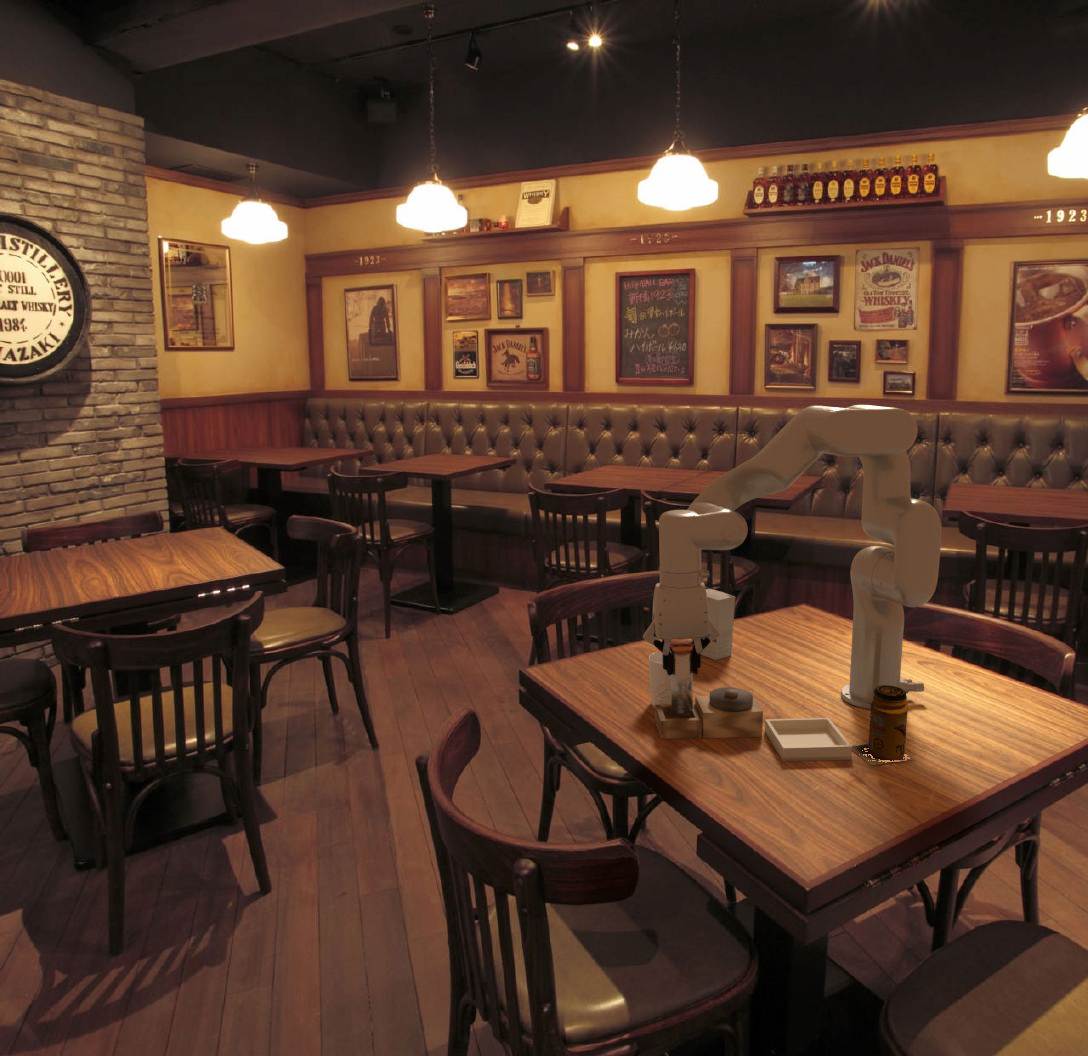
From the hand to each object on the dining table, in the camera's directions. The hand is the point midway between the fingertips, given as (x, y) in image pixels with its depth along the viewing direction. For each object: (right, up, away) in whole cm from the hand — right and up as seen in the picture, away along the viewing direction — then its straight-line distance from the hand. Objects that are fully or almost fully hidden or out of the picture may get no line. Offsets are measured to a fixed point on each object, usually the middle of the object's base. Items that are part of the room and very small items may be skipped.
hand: (681, 671), depth 163 cm
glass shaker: (0, -7, +1) cm, 8 cm away
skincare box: (+14, -3, +43) cm, 45 cm away
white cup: (-1, -9, +14) cm, 17 cm away
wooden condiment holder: (+6, -11, +2) cm, 13 cm away
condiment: (+34, -13, -9) cm, 37 cm away
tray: (+22, -13, -5) cm, 26 cm away
